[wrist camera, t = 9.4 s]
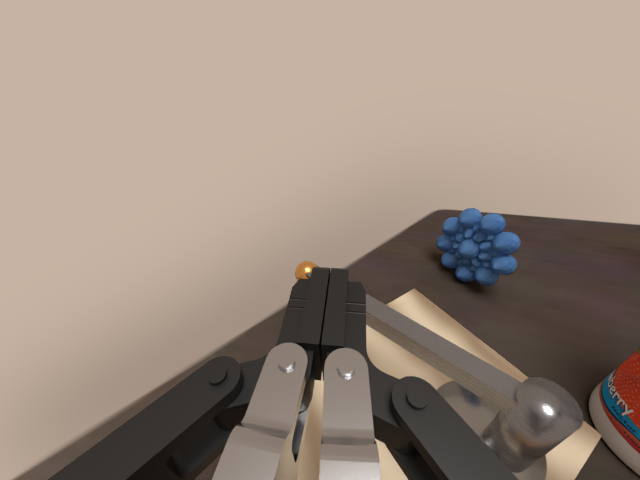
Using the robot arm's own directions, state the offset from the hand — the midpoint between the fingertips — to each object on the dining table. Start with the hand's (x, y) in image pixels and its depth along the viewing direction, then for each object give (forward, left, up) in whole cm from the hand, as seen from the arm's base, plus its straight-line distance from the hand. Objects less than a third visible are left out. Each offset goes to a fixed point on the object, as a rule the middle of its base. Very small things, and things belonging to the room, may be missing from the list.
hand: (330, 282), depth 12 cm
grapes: (-30, -7, -22) cm, 38 cm away
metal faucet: (-8, -1, -18) cm, 20 cm away
